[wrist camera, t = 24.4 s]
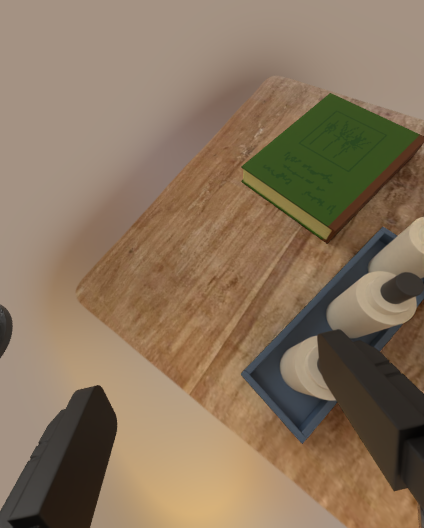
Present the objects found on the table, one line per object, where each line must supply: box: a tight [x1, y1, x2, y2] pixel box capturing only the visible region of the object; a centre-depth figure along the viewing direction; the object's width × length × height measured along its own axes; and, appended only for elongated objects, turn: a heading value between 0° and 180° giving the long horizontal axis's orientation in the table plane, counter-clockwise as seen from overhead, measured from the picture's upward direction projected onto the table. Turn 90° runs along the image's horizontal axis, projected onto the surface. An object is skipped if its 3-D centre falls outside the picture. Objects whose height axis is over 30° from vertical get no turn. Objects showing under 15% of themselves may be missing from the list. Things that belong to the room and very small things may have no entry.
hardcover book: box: [241, 93, 424, 244], centre depth 44 cm, size 25×19×4 cm
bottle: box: [280, 336, 336, 400], centre depth 26 cm, size 6×6×14 cm
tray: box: [241, 227, 424, 444], centre depth 34 cm, size 30×10×3 cm, turn 132°
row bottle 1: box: [368, 217, 424, 279], centre depth 30 cm, size 6×6×14 cm
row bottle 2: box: [326, 271, 424, 338], centre depth 28 cm, size 6×6×14 cm
